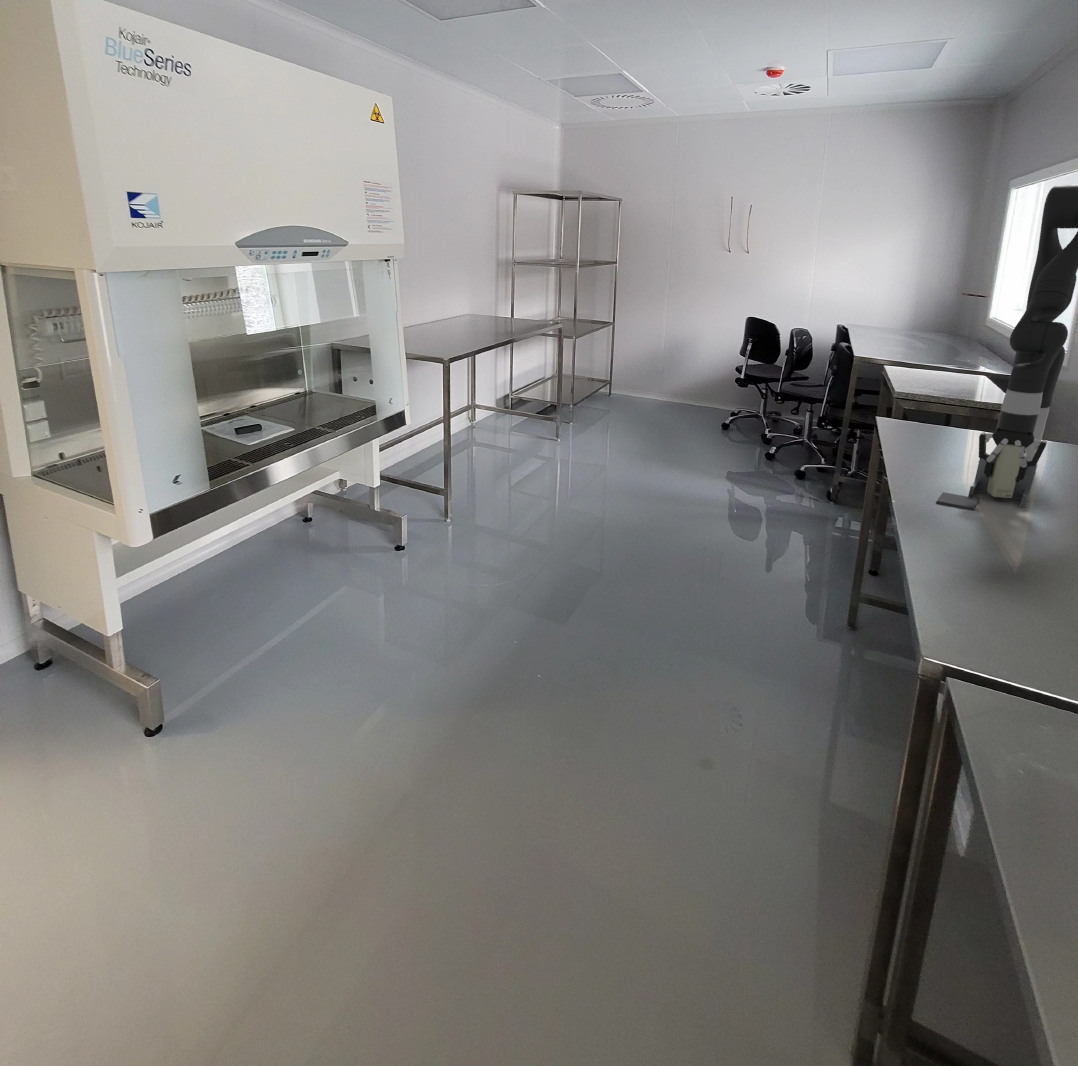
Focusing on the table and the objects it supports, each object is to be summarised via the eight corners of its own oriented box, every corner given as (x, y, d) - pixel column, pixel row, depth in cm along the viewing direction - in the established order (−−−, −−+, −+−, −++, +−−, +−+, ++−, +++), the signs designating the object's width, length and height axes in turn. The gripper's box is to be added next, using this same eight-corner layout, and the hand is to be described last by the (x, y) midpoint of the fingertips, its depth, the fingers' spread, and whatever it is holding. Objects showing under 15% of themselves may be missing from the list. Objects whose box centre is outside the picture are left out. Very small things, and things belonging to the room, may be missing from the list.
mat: (942, 494, 183) (942, 492, 183) (978, 500, 179) (979, 498, 178) (936, 503, 177) (936, 500, 177) (973, 510, 173) (974, 507, 172)
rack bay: (972, 489, 186) (980, 455, 183) (1028, 499, 180) (1037, 464, 176) (967, 497, 181) (976, 462, 177) (1024, 507, 174) (1034, 471, 171)
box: (1012, 498, 176) (1026, 447, 171) (992, 497, 177) (1005, 445, 172) (1004, 491, 181) (1018, 441, 176) (984, 490, 182) (998, 439, 177)
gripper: (1058, 411, 170) (1039, 480, 176) (987, 403, 178) (971, 469, 184) (1055, 417, 164) (1036, 488, 171) (982, 408, 172) (966, 477, 179)
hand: (1002, 478), depth 177 cm, fingers closed on box, 5 cm apart
